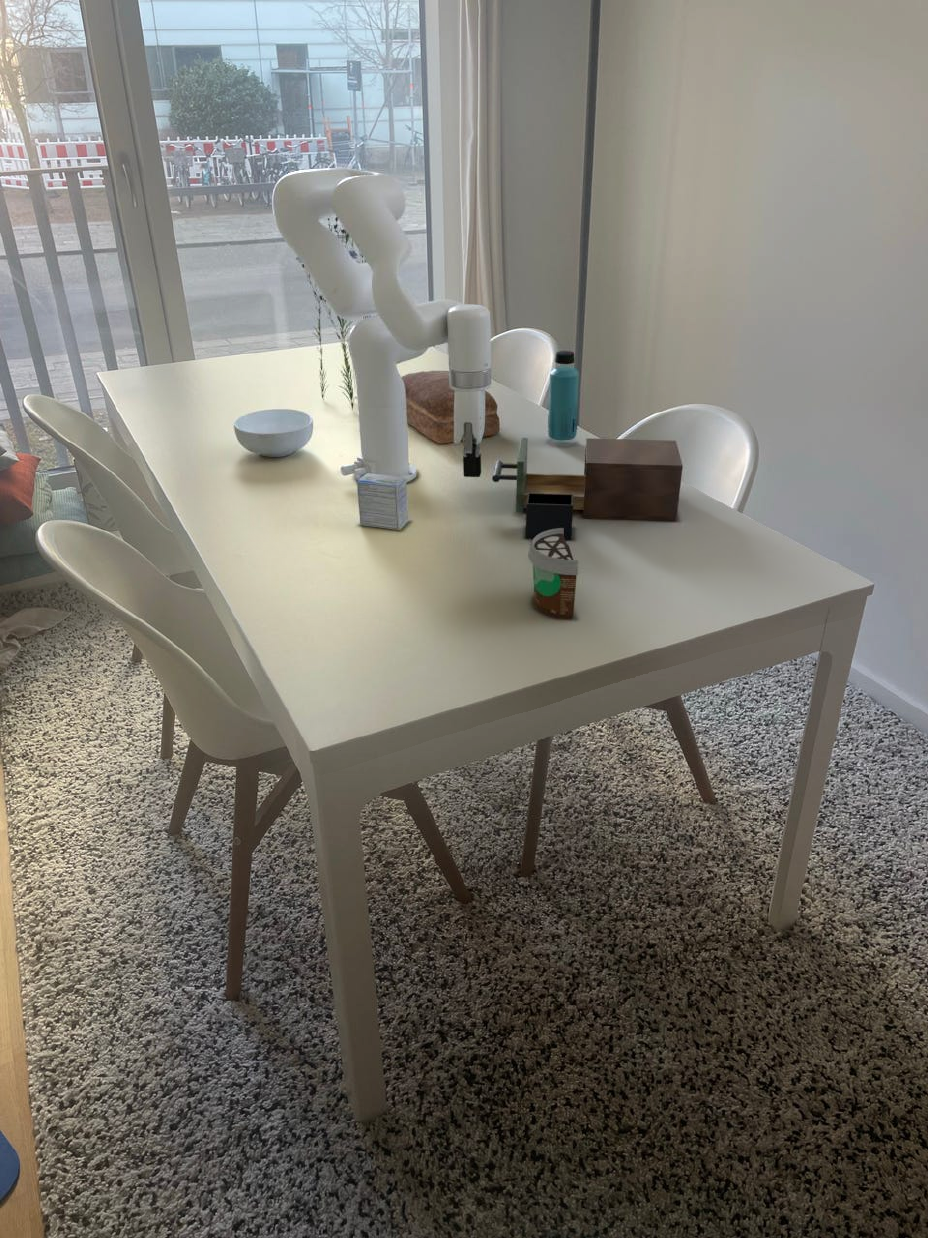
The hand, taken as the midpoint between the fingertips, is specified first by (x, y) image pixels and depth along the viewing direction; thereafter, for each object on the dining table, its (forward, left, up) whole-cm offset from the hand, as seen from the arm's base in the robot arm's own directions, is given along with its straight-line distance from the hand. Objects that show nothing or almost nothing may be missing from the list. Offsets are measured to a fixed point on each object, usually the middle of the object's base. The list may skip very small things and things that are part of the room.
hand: (472, 475), depth 171 cm
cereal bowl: (-15, +50, -5) cm, 52 cm away
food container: (-17, -39, -5) cm, 43 cm away
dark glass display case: (+1, -20, -5) cm, 21 cm away
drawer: (+11, -10, -5) cm, 15 cm away
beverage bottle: (+37, +14, -5) cm, 40 cm away
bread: (+25, +42, -5) cm, 49 cm away
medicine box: (-19, +2, -5) cm, 20 cm away
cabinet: (+21, -20, -5) cm, 29 cm away
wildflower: (+18, +70, -5) cm, 72 cm away
